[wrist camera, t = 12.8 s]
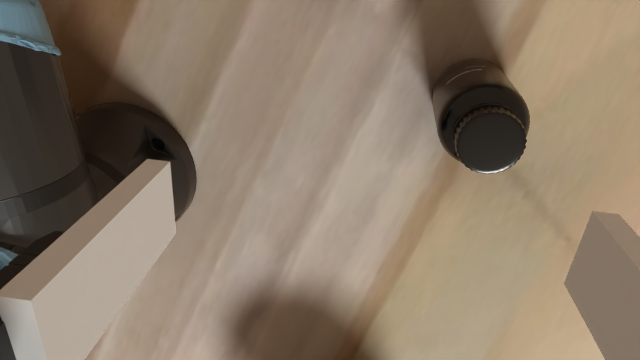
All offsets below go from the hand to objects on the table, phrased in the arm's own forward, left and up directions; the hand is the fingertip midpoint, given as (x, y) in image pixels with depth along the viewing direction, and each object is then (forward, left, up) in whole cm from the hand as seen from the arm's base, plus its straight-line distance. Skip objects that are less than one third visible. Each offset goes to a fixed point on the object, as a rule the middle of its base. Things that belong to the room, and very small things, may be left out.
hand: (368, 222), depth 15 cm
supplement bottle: (+8, -4, -31) cm, 32 cm away
